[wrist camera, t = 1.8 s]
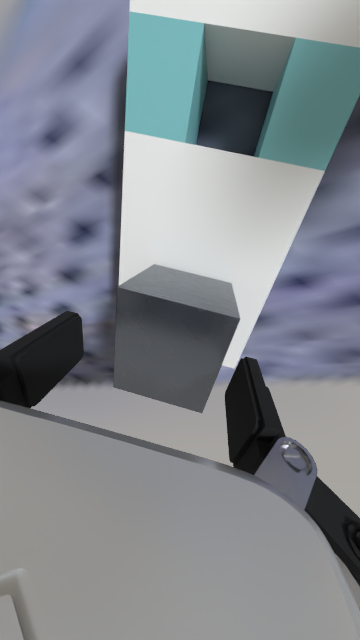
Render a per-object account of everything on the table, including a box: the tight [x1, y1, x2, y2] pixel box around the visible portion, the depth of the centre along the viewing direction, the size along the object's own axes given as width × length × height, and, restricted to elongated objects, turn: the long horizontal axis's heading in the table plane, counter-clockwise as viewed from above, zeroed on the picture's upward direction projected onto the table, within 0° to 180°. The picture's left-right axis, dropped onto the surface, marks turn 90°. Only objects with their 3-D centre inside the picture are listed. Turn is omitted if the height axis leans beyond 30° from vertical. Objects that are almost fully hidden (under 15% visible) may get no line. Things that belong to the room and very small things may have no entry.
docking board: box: [119, 0, 360, 369], centre depth 15 cm, size 22×12×4 cm, turn 168°
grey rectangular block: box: [113, 264, 240, 413], centre depth 15 cm, size 6×7×10 cm
